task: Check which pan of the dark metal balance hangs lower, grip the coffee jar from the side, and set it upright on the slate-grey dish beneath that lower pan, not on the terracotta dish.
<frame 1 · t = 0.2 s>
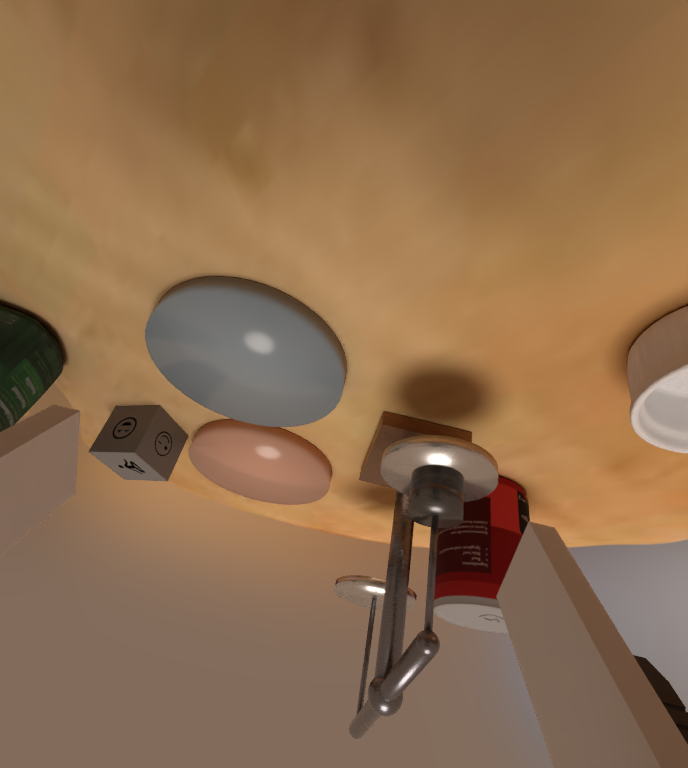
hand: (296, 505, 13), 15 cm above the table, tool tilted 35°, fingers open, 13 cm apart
terracotta dish: (263, 459, 46), on the table
canned food: (482, 489, 43), on the table
dice cube: (154, 418, 44), on the table
coffee jar: (5, 326, 36), on the table
slate dish: (251, 355, 33), on the table
balance: (410, 452, 39), on the table
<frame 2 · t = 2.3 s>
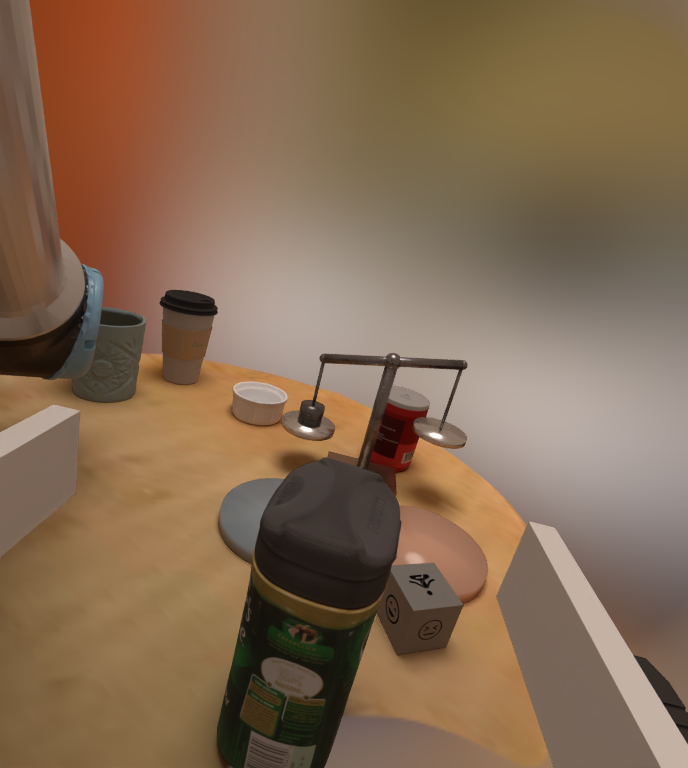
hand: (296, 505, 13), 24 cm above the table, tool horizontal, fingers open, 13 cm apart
terracotta dish: (422, 554, 52), on the table
coffee cup: (179, 379, 82), on the table
ramekin: (256, 416, 75), on the table
canned food: (385, 460, 72), on the table
dice cube: (407, 628, 42), on the table
grey-green ceramic planter: (103, 391, 70), on the table
coffee jar: (279, 716, 32), on the table
slate dish: (283, 525, 51), on the table
balance: (358, 478, 64), on the table
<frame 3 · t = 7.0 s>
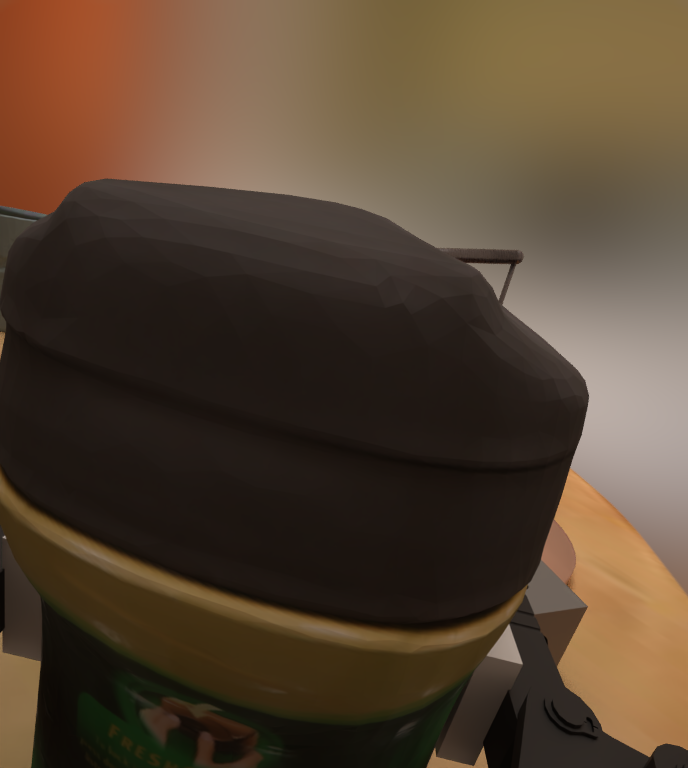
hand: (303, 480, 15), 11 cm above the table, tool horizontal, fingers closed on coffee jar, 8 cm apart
terracotta dish: (467, 530, 33), on the table
dice cube: (475, 649, 24), on the table
grey-green ceramic planter: (17, 323, 52), on the table
balance: (365, 432, 46), on the table
when the fingers open (13 cm above the table, at t = 12.4 s): coffee jar drops 1 cm, resting on slate dish.
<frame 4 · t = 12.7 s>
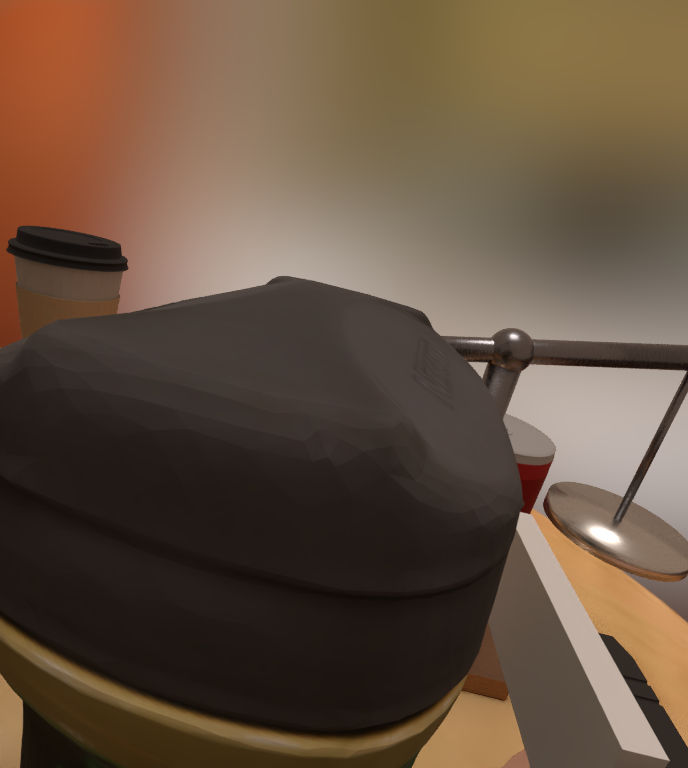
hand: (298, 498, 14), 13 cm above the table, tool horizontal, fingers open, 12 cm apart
coffee cup: (65, 392, 45), on the table
canned food: (451, 556, 35), on the table
balance: (409, 625, 28), on the table
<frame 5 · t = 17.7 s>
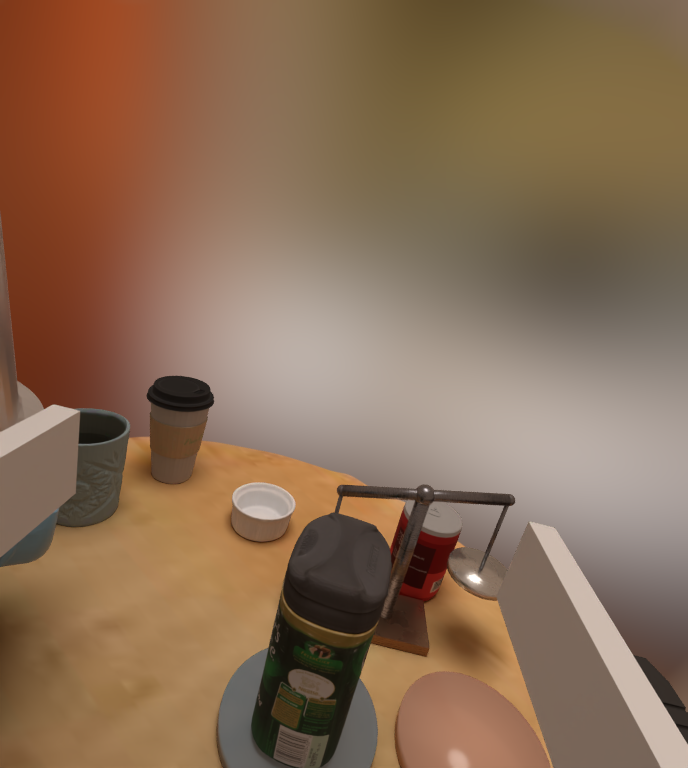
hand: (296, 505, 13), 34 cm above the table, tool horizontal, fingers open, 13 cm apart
terracotta dish: (468, 754, 42), on the table
coffee cup: (171, 474, 72), on the table
ramekin: (258, 526, 65), on the table
canned food: (409, 581, 62), on the table
grey-green ceramic planter: (80, 506, 60), on the table
coffee jar: (298, 714, 40), point 1 cm above the table, touching slate dish
slate dish: (297, 724, 41), on the table
balance: (382, 620, 54), on the table
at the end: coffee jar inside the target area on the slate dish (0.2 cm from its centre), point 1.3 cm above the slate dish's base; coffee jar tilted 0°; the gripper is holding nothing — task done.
